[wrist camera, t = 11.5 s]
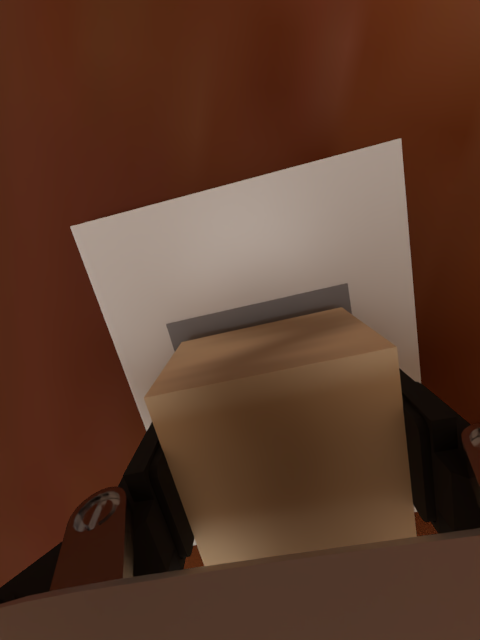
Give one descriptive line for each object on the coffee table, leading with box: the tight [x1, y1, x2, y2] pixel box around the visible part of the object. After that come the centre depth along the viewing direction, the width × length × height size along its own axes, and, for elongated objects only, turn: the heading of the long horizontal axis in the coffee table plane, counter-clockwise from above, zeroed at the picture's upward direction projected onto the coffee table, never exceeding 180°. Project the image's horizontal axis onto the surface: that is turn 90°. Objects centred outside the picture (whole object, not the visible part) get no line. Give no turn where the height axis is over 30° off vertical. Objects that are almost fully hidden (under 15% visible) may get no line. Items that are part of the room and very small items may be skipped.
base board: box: [70, 138, 421, 545], centre depth 13 cm, size 12×16×2 cm
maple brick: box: [144, 307, 417, 566], centre depth 9 cm, size 6×6×4 cm
